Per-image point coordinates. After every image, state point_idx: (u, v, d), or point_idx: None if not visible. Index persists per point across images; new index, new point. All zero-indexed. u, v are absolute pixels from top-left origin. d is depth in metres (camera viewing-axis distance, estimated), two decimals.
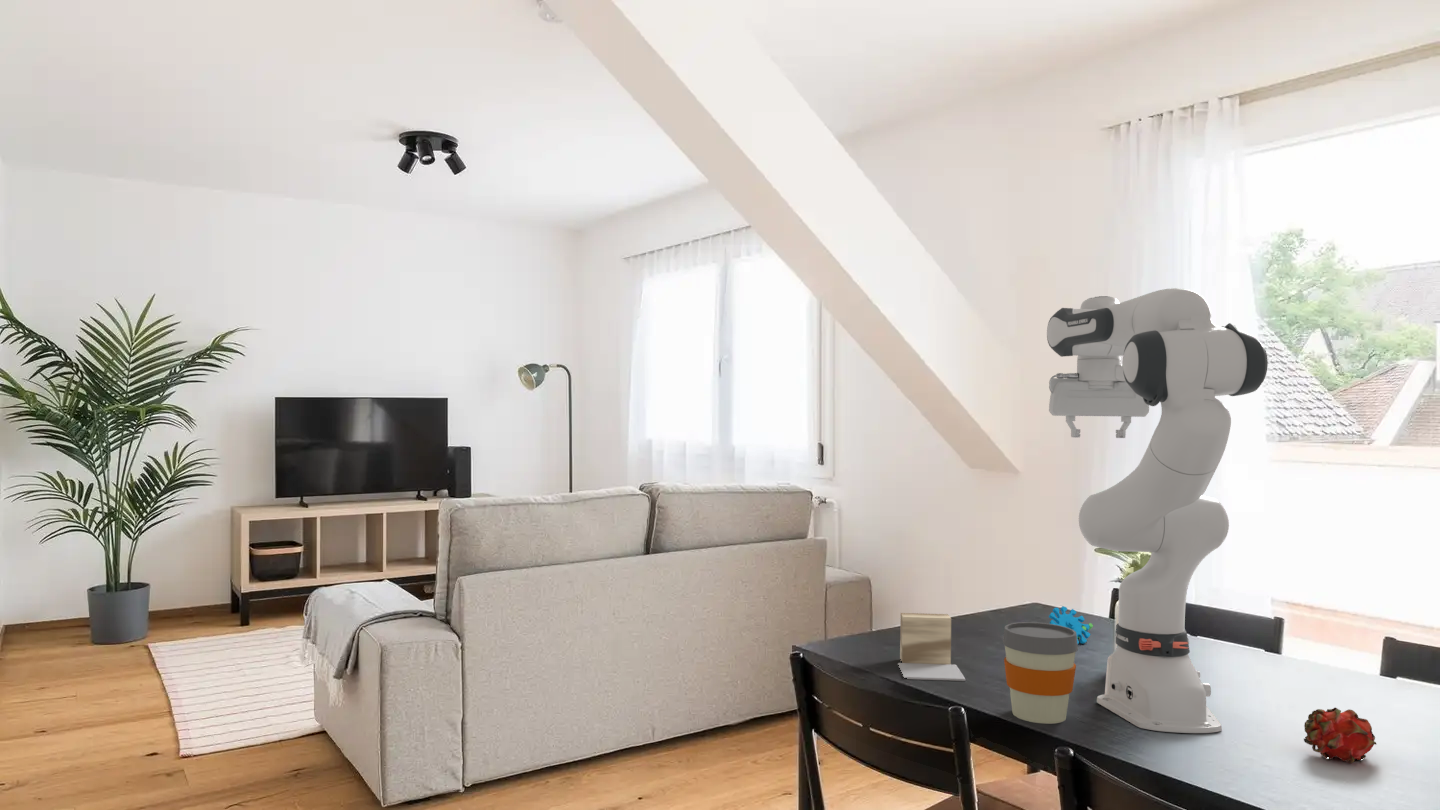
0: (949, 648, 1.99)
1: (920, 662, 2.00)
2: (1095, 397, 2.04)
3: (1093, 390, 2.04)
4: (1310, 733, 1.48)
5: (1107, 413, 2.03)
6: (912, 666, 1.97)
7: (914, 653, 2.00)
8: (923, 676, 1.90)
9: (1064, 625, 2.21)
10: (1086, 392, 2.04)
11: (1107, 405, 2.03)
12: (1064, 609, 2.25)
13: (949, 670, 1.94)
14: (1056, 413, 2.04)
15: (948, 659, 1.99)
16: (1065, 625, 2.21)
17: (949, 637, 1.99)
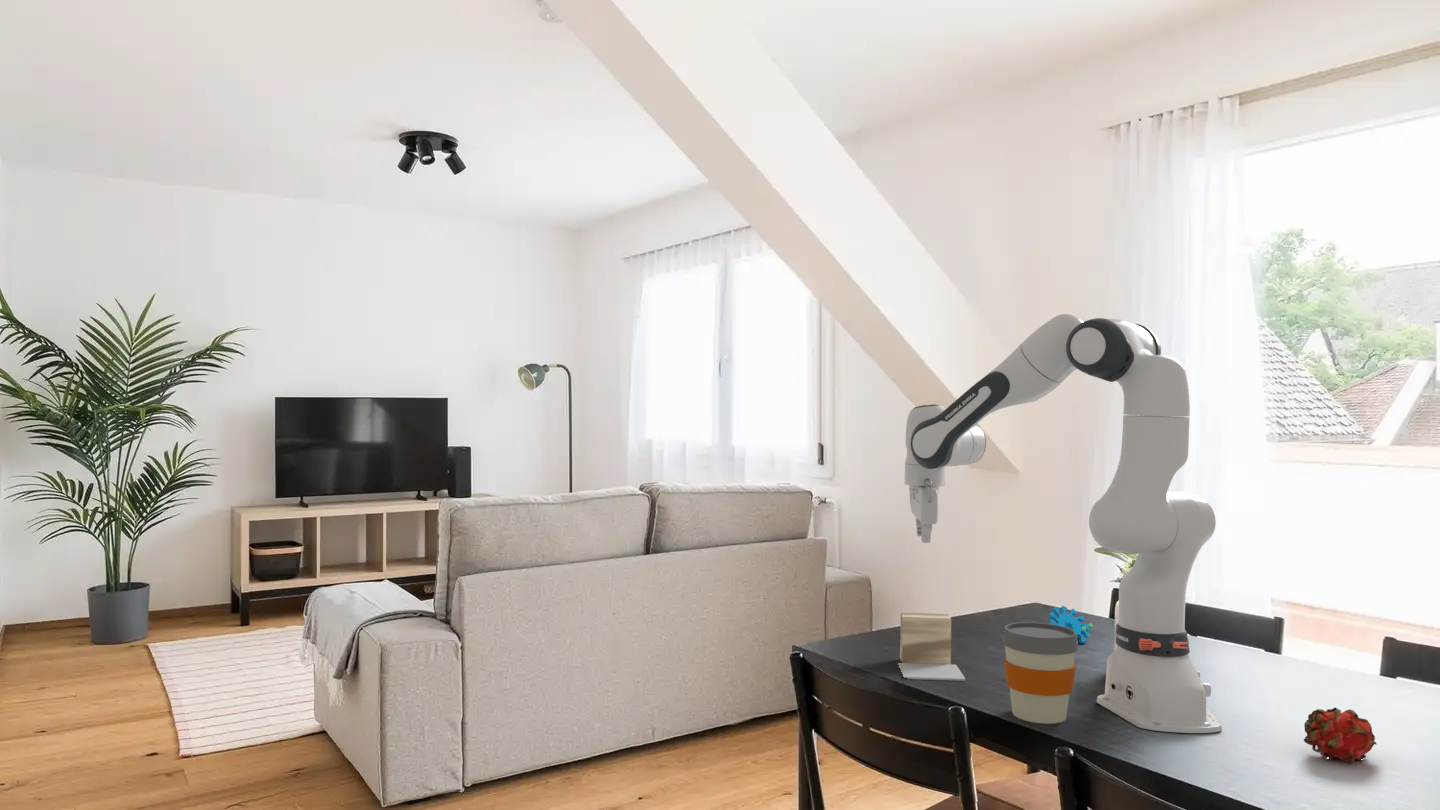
0: (949, 648, 1.99)
1: (920, 662, 2.00)
2: None
3: None
4: (1310, 733, 1.48)
5: None
6: (912, 666, 1.97)
7: (914, 653, 2.00)
8: (923, 676, 1.90)
9: (1063, 625, 2.21)
10: None
11: None
12: (1064, 609, 2.25)
13: (949, 670, 1.94)
14: (936, 522, 2.03)
15: (948, 659, 1.99)
16: (1064, 625, 2.21)
17: (949, 637, 1.99)
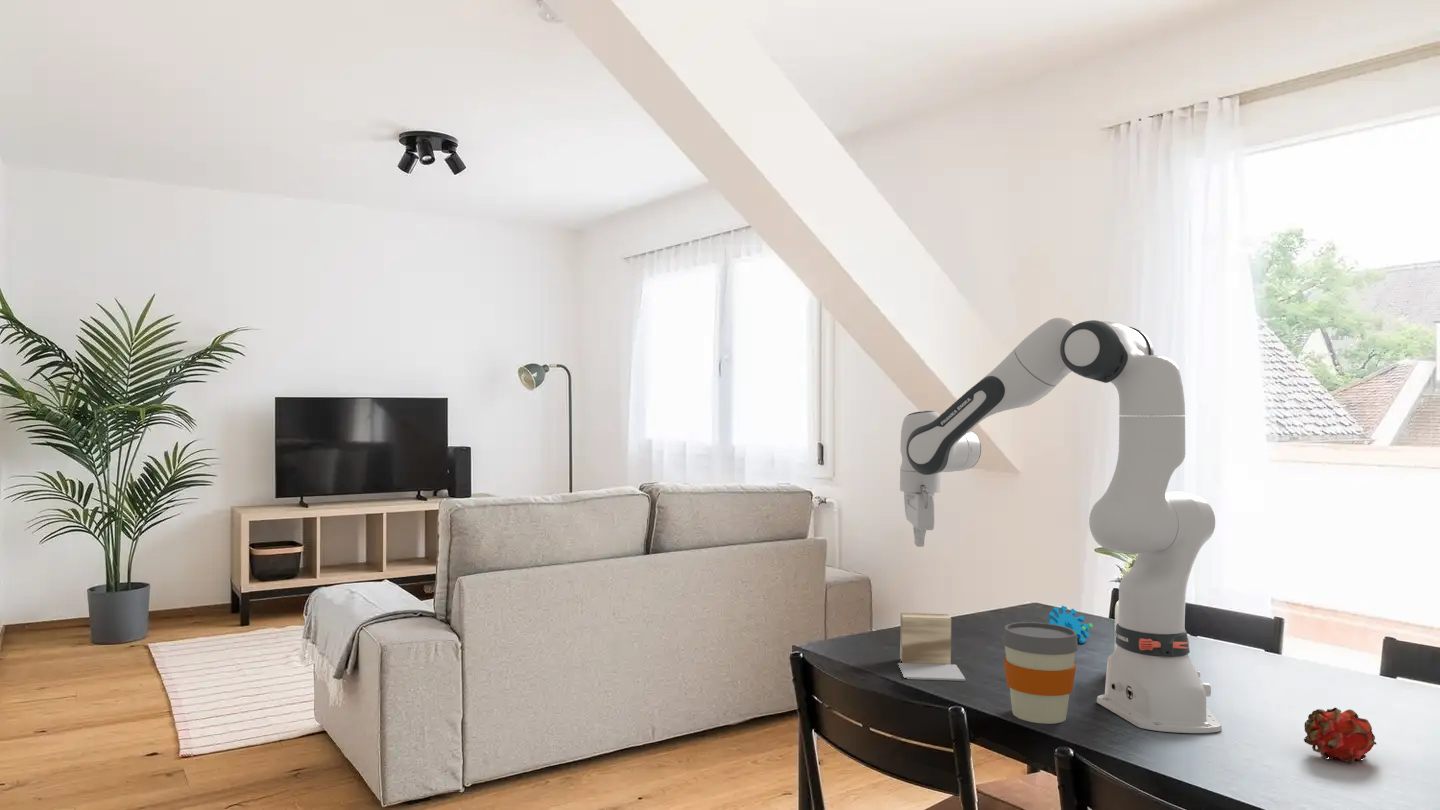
0: (949, 648, 1.99)
1: (920, 662, 2.00)
2: None
3: None
4: (1310, 733, 1.48)
5: None
6: (912, 666, 1.97)
7: (914, 653, 2.00)
8: (923, 676, 1.90)
9: (1063, 625, 2.22)
10: None
11: None
12: (1064, 609, 2.25)
13: (949, 670, 1.94)
14: (933, 528, 2.03)
15: (948, 659, 1.99)
16: (1064, 625, 2.22)
17: (949, 637, 1.99)
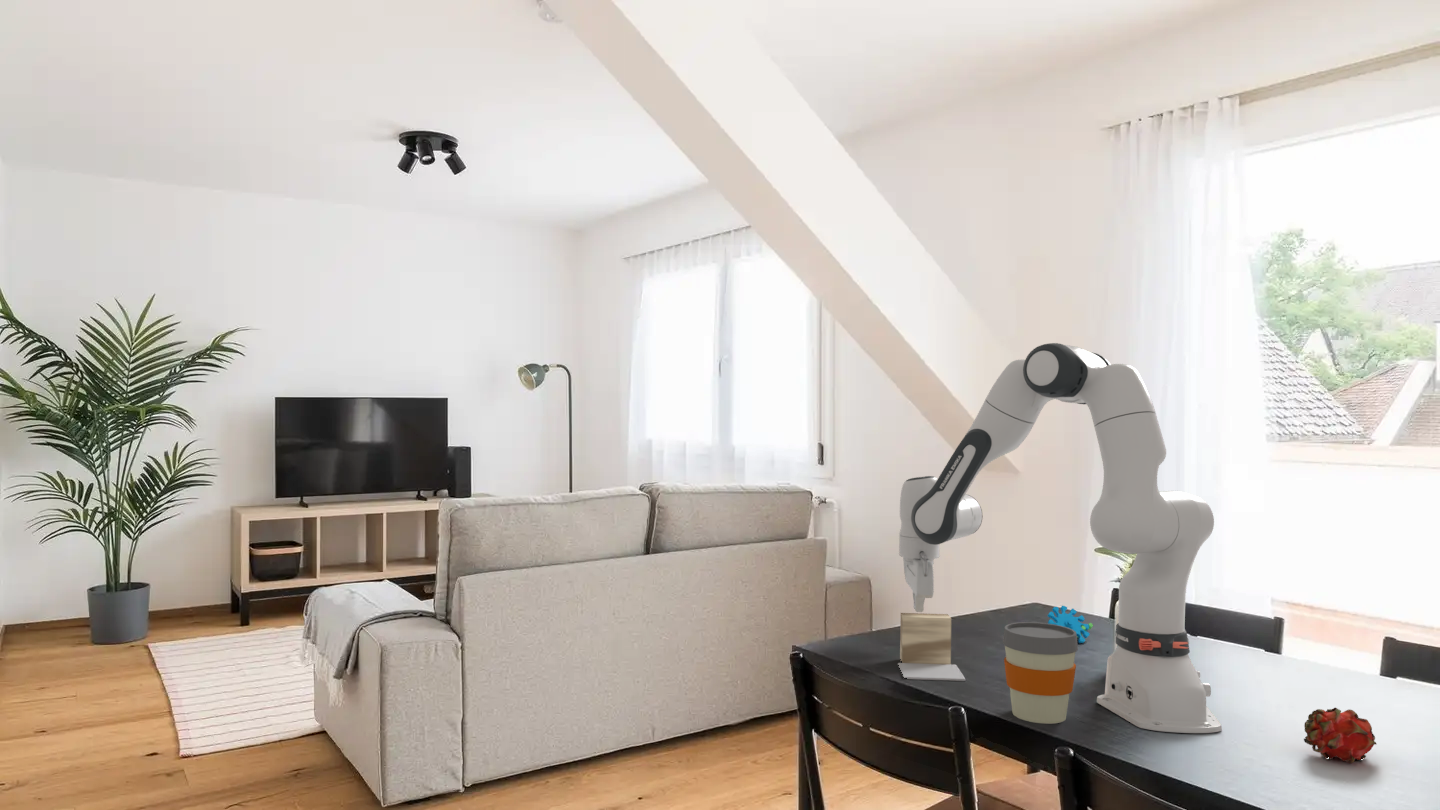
0: (949, 648, 1.99)
1: (920, 662, 2.00)
2: None
3: None
4: (1310, 733, 1.48)
5: None
6: (912, 666, 1.97)
7: (914, 653, 2.00)
8: (923, 676, 1.90)
9: (1062, 624, 2.22)
10: None
11: None
12: (1064, 608, 2.25)
13: (949, 670, 1.94)
14: (932, 596, 2.03)
15: (948, 659, 1.99)
16: (1064, 624, 2.22)
17: (949, 637, 1.99)
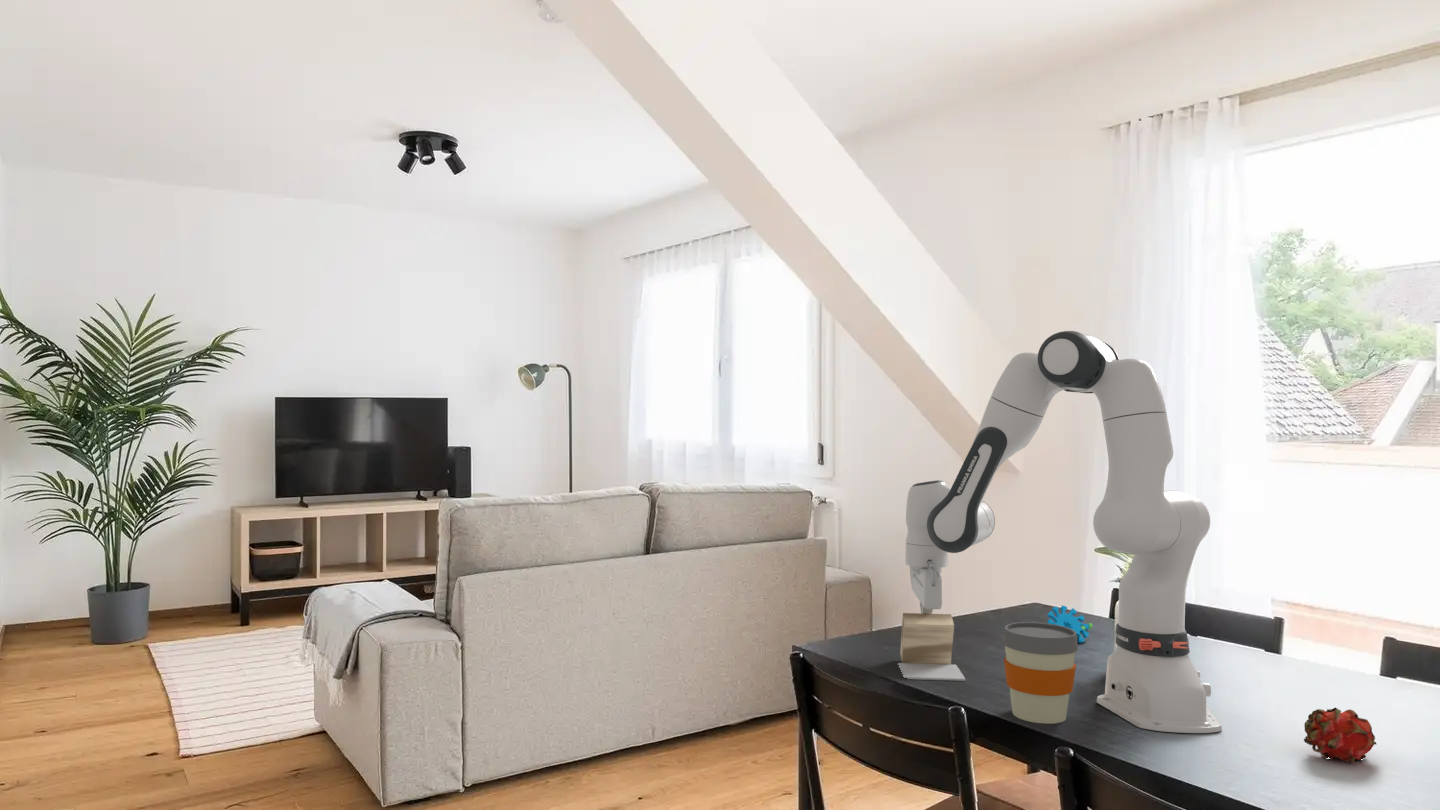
0: (950, 651, 1.98)
1: (920, 662, 2.00)
2: None
3: None
4: (1310, 733, 1.48)
5: None
6: (912, 666, 1.97)
7: (914, 655, 1.99)
8: (923, 676, 1.90)
9: (1062, 624, 2.22)
10: None
11: None
12: (1064, 608, 2.26)
13: (949, 670, 1.94)
14: None
15: (948, 660, 1.99)
16: (1063, 624, 2.22)
17: (951, 641, 1.97)
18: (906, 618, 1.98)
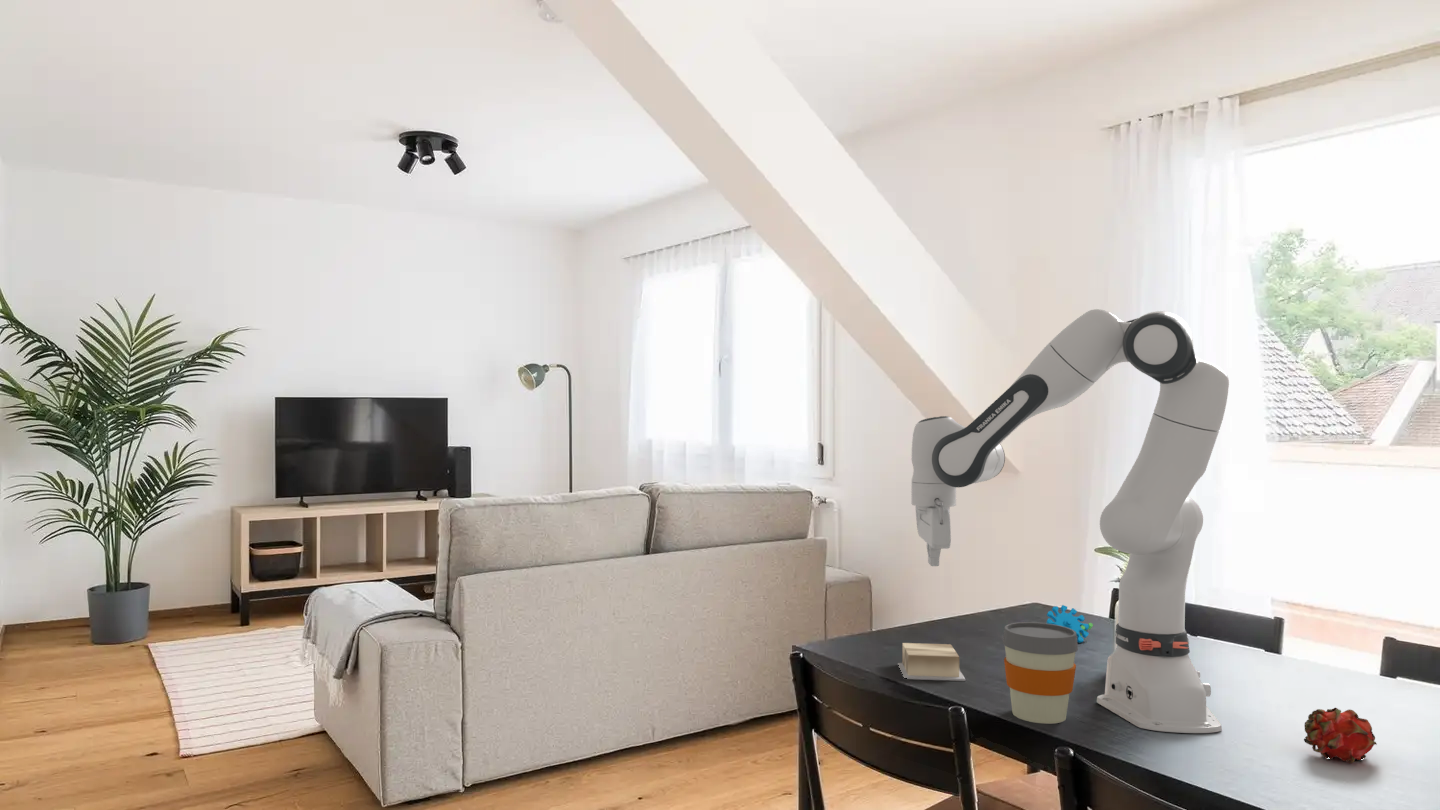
0: None
1: None
2: (942, 523, 1.92)
3: None
4: (1310, 733, 1.48)
5: None
6: None
7: None
8: (923, 676, 1.90)
9: (1061, 624, 2.23)
10: None
11: None
12: (1064, 608, 2.26)
13: None
14: (949, 546, 1.83)
15: None
16: (1062, 624, 2.23)
17: None
18: (911, 665, 1.90)
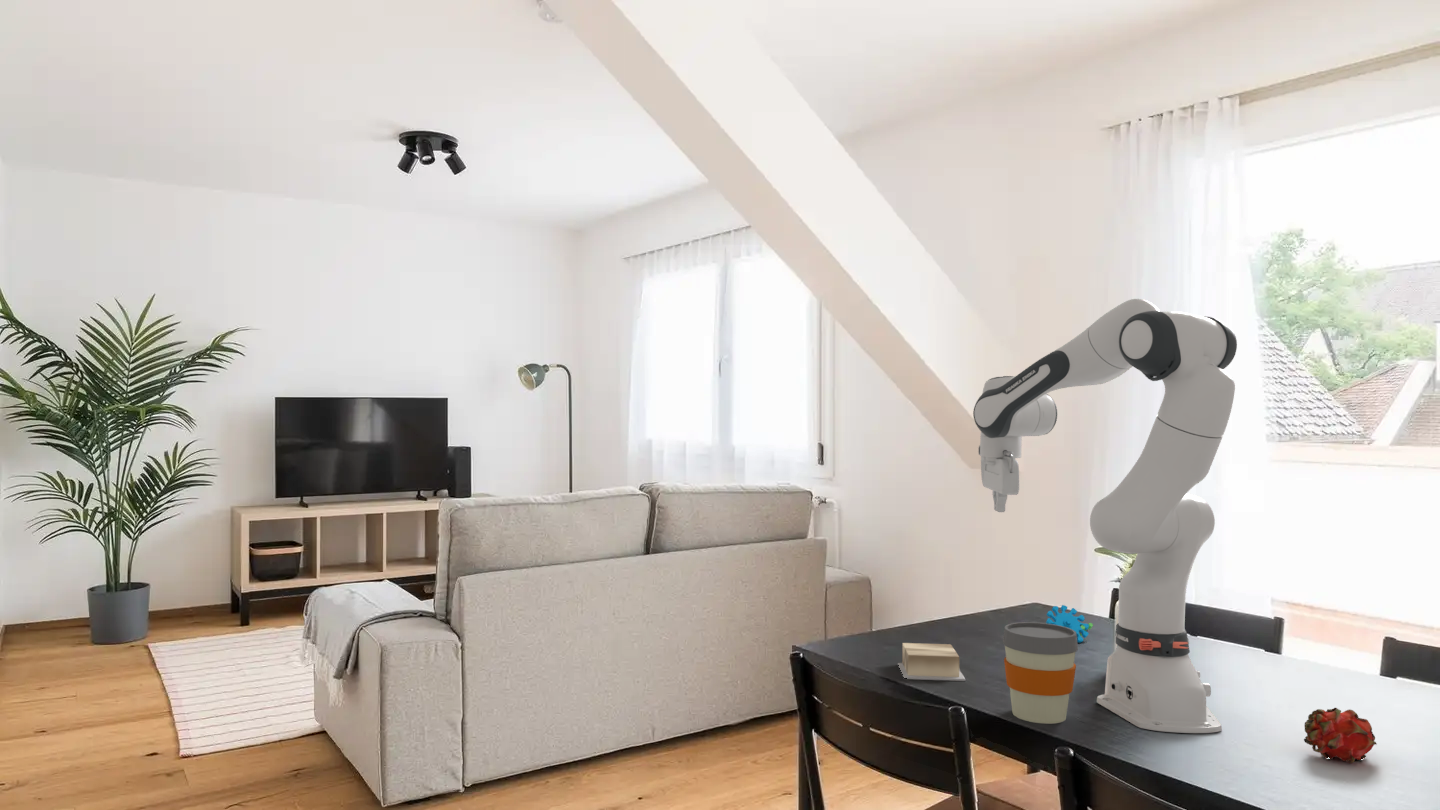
0: None
1: None
2: None
3: None
4: (1310, 733, 1.48)
5: None
6: None
7: None
8: (923, 676, 1.90)
9: (1061, 623, 2.23)
10: None
11: None
12: (1064, 608, 2.26)
13: None
14: None
15: None
16: (1062, 623, 2.23)
17: None
18: (911, 665, 1.90)
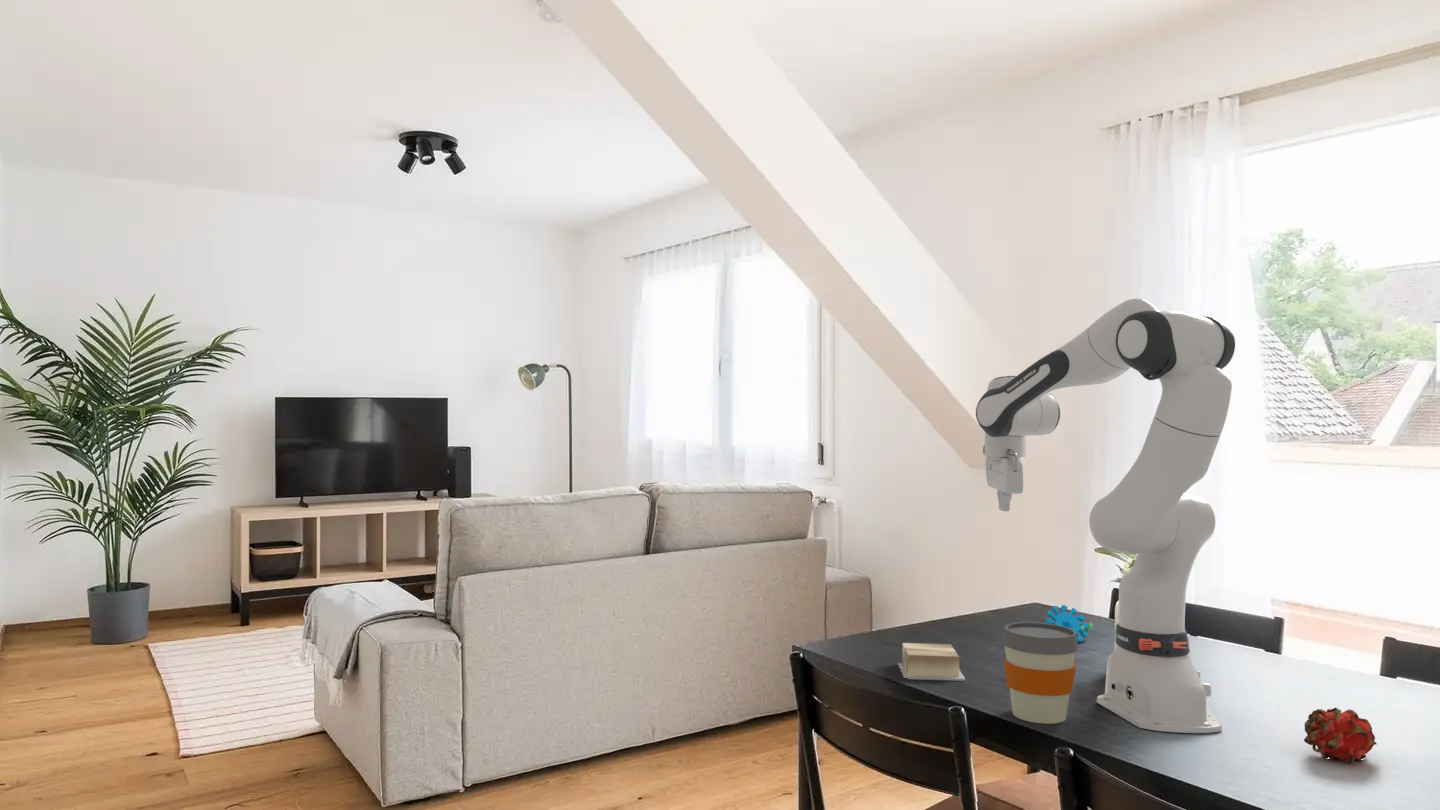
0: None
1: None
2: None
3: None
4: (1310, 733, 1.48)
5: None
6: None
7: None
8: (923, 676, 1.90)
9: (1061, 623, 2.23)
10: None
11: None
12: (1064, 608, 2.26)
13: None
14: None
15: None
16: (1062, 623, 2.23)
17: None
18: (911, 665, 1.90)
